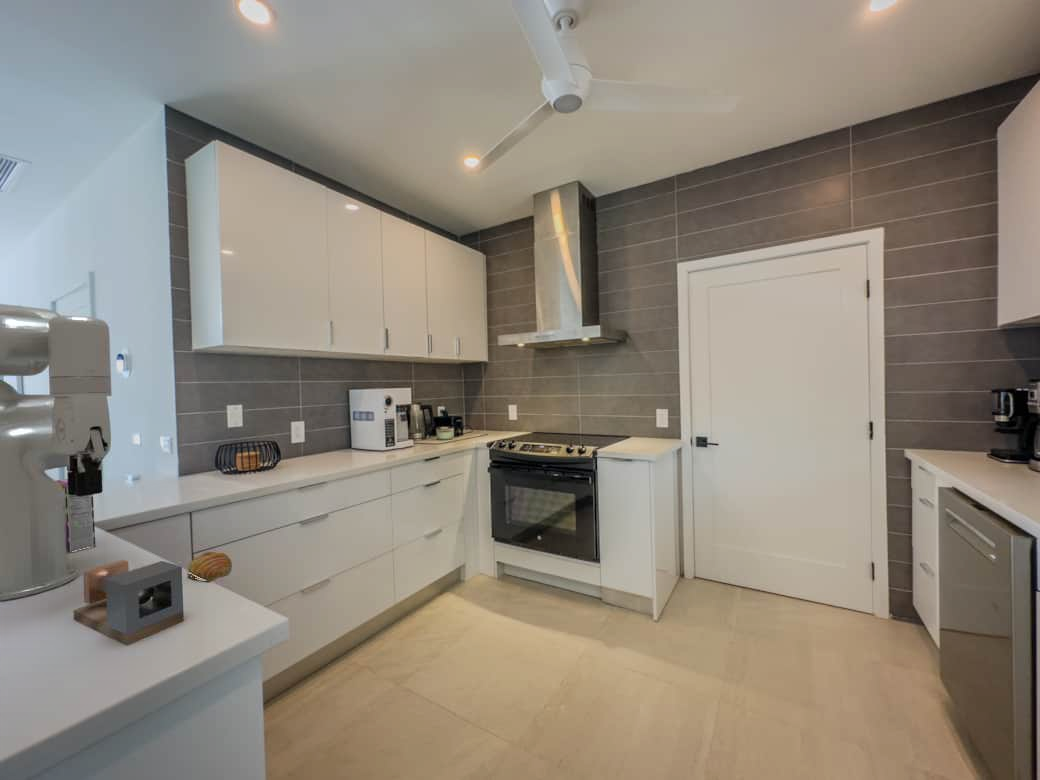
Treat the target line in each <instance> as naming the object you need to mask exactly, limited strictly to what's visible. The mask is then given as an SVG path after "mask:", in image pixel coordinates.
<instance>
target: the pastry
mask: <svg viewBox="0 0 1040 780" xmlns="http://www.w3.org/2000/svg"><path fill="white" fill-rule="evenodd" d="M232 568H233V565H232V559H231V558H230V557H229V556H228V555H227V554H225V553H224V552H217V551H205V552H203V553H201V554H200V555H198V556H195V557H194V558H193V559H192V560H191V562H190V563H189V565H188V567H187V575H188V576H189V577H190V578H191V579H192V580H194V581H196V580H195V578H197V577H195V576H193V575H192V574H194V575H196V576H198V577H200V578H202V579H205V580H207V581H206V582H213V581H216V580H218V579H221V578H224V577H227V576H229V575H230V574H231V572H232ZM188 572H190V573H192V574H189V573H188ZM191 576H192V577H191ZM198 579H199V578H198Z"/></svg>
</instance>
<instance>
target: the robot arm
mask: <svg viewBox="0 0 1040 780" xmlns="http://www.w3.org/2000/svg"><path fill="white" fill-rule="evenodd" d="M110 339H111V338H110V327H109V325H108V324H107V322H106V321H104V320H103V319H99V318H97V317H92V316H91V317H90V316H81V315H61V314H59V313H58V312H56V311H54V310H52V309H49V308H39V307H31V306H22V305H13V304H4V303H0V377H1V376H2V377H3V376H4V377H29V376H30V377H31V376H36V375H39V374H41V373H43V372H44V371H45V370H46V369H47V368H48V377H49V379H48V381H49V383H48V384H49V394H27V393H26V394H23V393H19V392H18V391H17V389H15V387H14V386H13V385H11V384H10V383H8V382H6V381H5V380H2V379H0V601H7V600H13V599H18V598H22V597H28V596H32V595H35V594H38V593H42V592H45V591H48V590H52V589H54V588H57V587H60V586H62V585H65V584H67V583H69V582H72V581H73V580H74V579H77V577H78V576H79V569H78V568H76V567H74V566H73V567H72V566H67V565H68V564H67V563H68V561H67V559H68V558H67V551H66V530H65V503H64V491H63V489H62V487H61V486H60V484H59V483H57V482H56V481H57V480H55V479H54V478H52V477H51V476H50V475H48V474H47V473H46V472H45V471H49V470H54V469H60V468H65V467H66V471H67V475H66V476H67V479H68V494H69V495H76V496H79V497H82V496H87V495H93V496H94V495H98V494H101V493H102V492H103V471H102V470H103V460H104V458H106V456H107V455H108V453H109V452H110V449H111V445H112V432H111V431H112V430H111V419H110V411H109V402H108V397H111V396H112V394H113V393H112V372H111V371H112V370H111V366H112V364H111V347H110V346H111V343H110V342H111V341H110Z"/></svg>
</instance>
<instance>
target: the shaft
mask: <svg viewBox="0 0 1040 780" xmlns="http://www.w3.org/2000/svg"><path fill="white" fill-rule="evenodd" d="M129 569H130V568H129V561H128V560H125V559H121V560H117V561H113V562H110V563H107V564H104V565H103V564H102V565H100V566H97V567H94V568H93V567H92V568H90V569H87V570H83V571H82V573H83V574H82V575H83V576H82V578H83V601H84V602H83V603H85V604H87V605H89V604H92V603H95V602H98V601H101V600H104V599H106V578H109V577H112V576H116V575H119V574H122V573H125V572H128V571H130V570H129ZM153 594H154V587H153V586H152V587H149V588H147V589H144V590H141V591H138V595H139V605H141V604H144V603H146V602H147V601H148V600H150V599H152V596H153Z"/></svg>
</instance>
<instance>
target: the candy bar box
mask: <svg viewBox="0 0 1040 780" xmlns="http://www.w3.org/2000/svg"><path fill="white" fill-rule="evenodd" d="M55 481H56V482H57V483H59V484H60V486H61V487H62V489H63V491H64V503H65V530H66V550H67V551H68V552H72V551H75V550H79V549H83V548H87V547H92V546H95V547H96V531H95V530H96V528H95V506H94V494H93V495H87V496H82V497H79V496H76V495H69V494H68V478H63V479H57V480H55ZM67 551H66V552H67ZM72 553H73V552H72Z"/></svg>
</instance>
